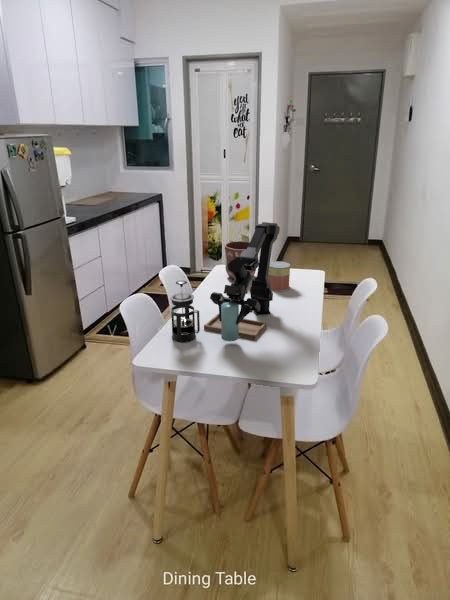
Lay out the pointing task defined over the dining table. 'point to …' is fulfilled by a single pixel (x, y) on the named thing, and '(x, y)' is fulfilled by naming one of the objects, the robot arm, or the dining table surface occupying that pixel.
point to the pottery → (235, 254)
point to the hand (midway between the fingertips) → (228, 322)
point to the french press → (183, 323)
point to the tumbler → (229, 321)
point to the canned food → (279, 275)
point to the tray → (246, 327)
